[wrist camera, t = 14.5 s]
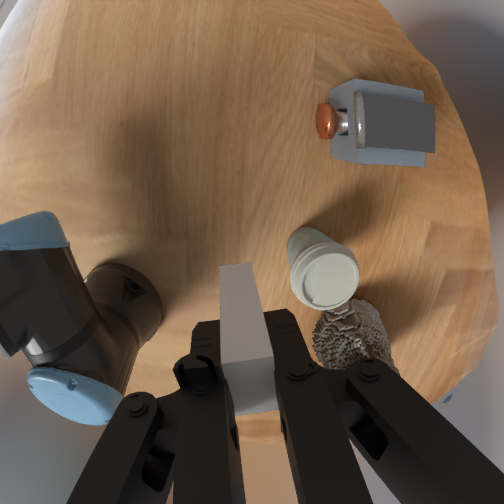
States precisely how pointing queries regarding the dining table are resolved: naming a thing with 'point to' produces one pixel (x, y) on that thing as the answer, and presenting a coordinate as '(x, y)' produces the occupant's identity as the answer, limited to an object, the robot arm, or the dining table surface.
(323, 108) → the lynch pin
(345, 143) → the block
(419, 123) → the keeper plate
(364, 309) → the sculpture
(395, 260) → the dining table surface
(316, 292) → the coffee cup
